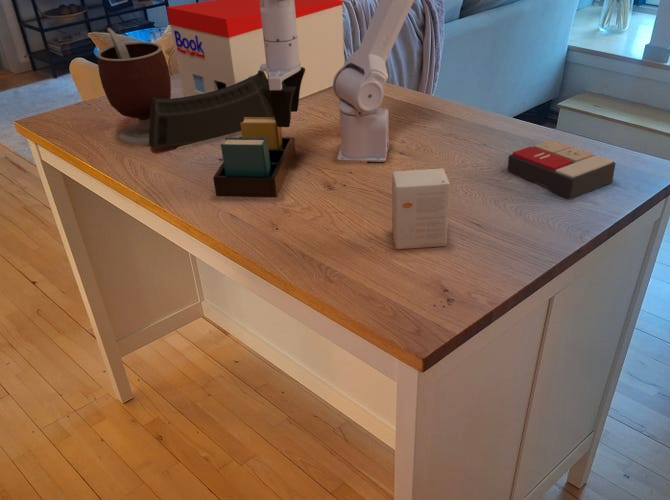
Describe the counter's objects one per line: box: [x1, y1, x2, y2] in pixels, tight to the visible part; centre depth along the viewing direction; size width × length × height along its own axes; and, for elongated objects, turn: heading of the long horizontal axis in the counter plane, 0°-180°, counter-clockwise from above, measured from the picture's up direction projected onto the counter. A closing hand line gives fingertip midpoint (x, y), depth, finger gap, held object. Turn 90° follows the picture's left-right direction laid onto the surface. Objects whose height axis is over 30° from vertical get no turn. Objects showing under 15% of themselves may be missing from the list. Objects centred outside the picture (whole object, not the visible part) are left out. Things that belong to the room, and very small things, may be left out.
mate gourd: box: [96, 27, 172, 146], centre depth 137 cm, size 16×14×20 cm
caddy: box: [212, 136, 297, 198], centre depth 123 cm, size 11×19×4 cm, turn 172°
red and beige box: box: [507, 139, 616, 200], centre depth 117 cm, size 11×4×15 cm
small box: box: [391, 167, 451, 250], centre depth 100 cm, size 8×6×10 cm
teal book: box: [220, 137, 272, 177], centre depth 116 cm, size 8×3×8 cm, turn 82°
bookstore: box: [166, 0, 345, 100], centre depth 155 cm, size 21×35×21 cm, turn 137°
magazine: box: [149, 70, 274, 150], centre depth 137 cm, size 17×3×30 cm
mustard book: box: [240, 117, 283, 149], centre depth 126 cm, size 7×3×8 cm, turn 82°
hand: (287, 118), depth 119 cm, fingers open, 7 cm apart
